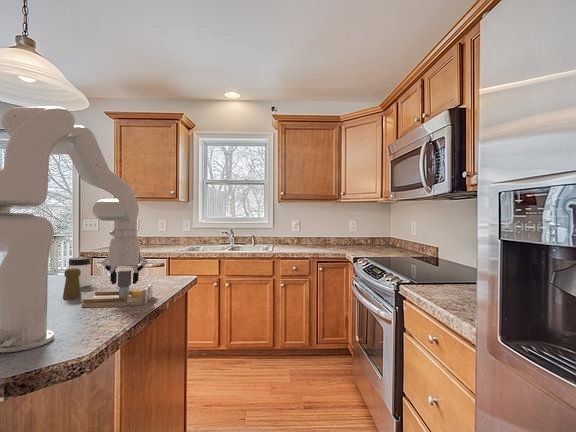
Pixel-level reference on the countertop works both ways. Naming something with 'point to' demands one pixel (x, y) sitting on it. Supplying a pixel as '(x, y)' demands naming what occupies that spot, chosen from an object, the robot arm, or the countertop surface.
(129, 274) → the grey stepped block
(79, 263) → the jar
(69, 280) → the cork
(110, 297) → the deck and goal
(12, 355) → the countertop surface
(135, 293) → the ball
